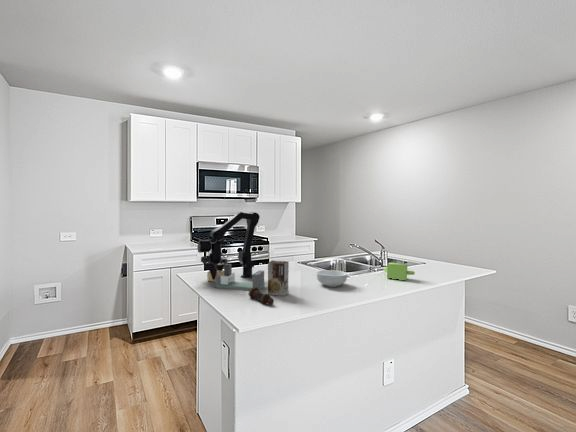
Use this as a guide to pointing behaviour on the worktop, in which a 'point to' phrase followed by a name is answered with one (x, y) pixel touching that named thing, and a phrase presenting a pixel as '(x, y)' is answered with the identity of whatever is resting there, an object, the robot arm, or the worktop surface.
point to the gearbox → (397, 271)
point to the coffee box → (278, 278)
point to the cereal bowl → (331, 277)
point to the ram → (227, 275)
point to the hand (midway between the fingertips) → (216, 278)
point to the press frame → (257, 282)
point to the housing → (218, 274)
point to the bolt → (260, 296)
